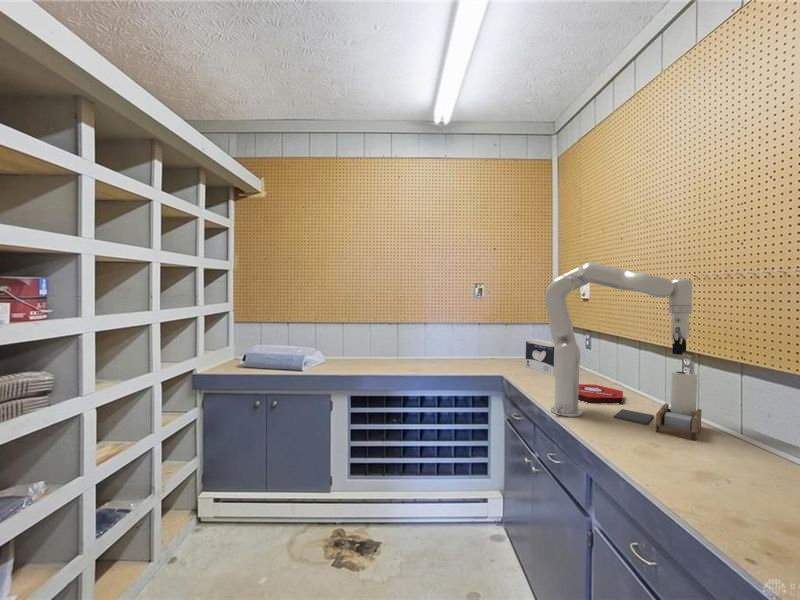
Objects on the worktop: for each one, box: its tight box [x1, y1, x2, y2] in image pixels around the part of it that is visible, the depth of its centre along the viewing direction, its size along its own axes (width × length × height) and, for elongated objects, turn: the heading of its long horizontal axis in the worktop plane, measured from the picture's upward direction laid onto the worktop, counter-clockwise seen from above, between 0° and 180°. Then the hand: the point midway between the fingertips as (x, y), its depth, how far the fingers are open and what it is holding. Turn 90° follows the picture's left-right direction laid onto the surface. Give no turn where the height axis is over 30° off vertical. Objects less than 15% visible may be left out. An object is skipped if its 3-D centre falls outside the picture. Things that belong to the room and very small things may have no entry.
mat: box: [613, 408, 655, 426], centre depth 163 cm, size 14×12×1 cm
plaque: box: [578, 383, 624, 405], centre depth 195 cm, size 27×4×30 cm
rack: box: [655, 402, 702, 442], centre depth 149 cm, size 20×12×7 cm, turn 137°
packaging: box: [524, 337, 556, 377], centre depth 258 cm, size 30×6×20 cm, turn 18°
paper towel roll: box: [670, 370, 698, 419], centre depth 153 cm, size 7×6×21 cm
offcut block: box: [664, 412, 692, 431], centre depth 147 cm, size 6×8×6 cm
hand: (679, 352), depth 154 cm, fingers open, 9 cm apart
